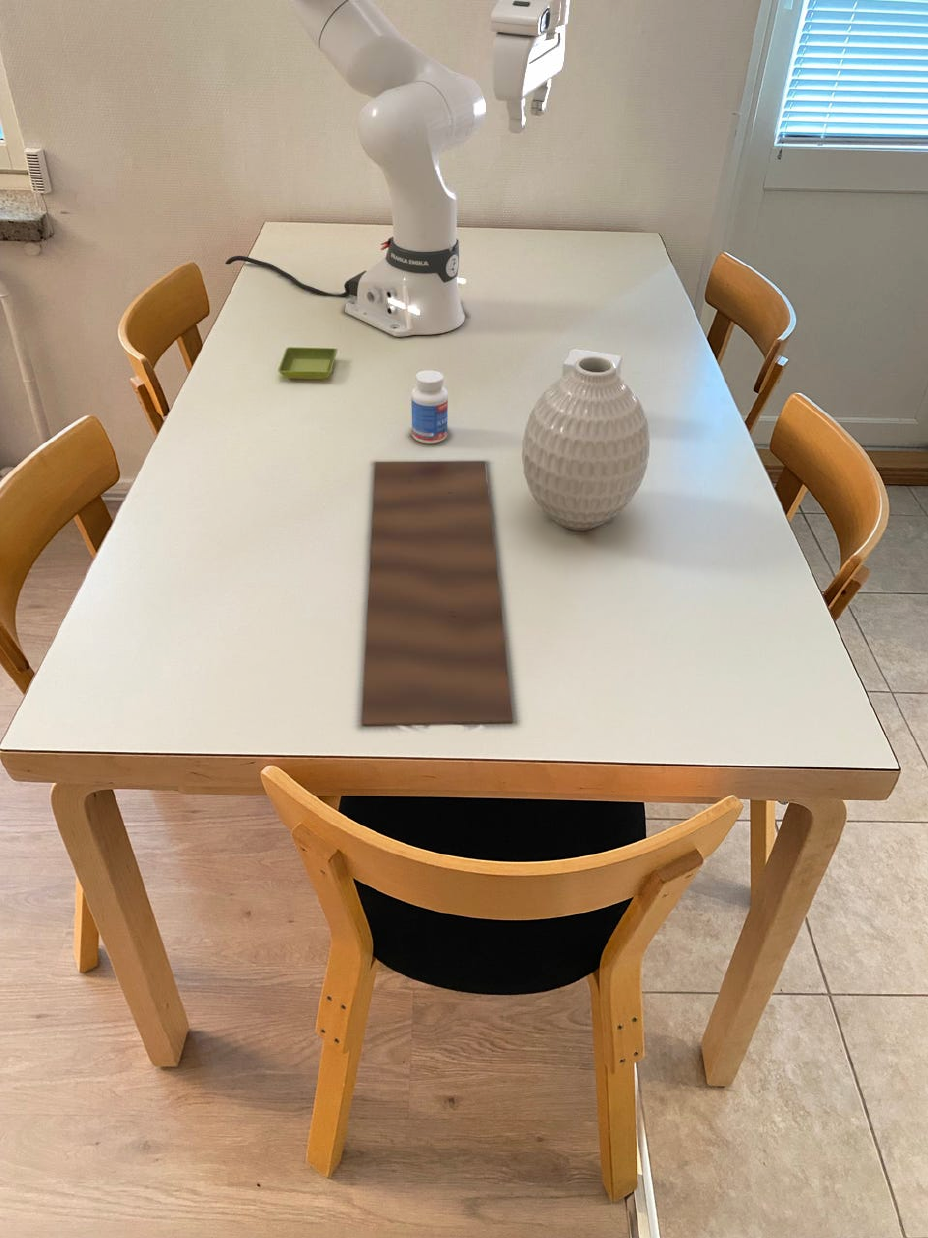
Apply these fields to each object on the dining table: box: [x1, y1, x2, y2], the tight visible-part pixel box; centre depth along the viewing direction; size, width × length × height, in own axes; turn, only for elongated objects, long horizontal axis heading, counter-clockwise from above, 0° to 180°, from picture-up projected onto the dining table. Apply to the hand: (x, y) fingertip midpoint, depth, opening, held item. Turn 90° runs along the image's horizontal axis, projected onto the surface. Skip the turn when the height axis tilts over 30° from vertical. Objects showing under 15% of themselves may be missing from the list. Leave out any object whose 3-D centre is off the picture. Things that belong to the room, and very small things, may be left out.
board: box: [361, 460, 514, 726], centre depth 121 cm, size 51×16×1 cm, turn 2°
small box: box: [561, 348, 623, 378], centre depth 147 cm, size 8×6×10 cm
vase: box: [521, 356, 651, 531], centre depth 124 cm, size 16×16×22 cm
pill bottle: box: [410, 369, 449, 444], centre depth 143 cm, size 6×5×10 cm
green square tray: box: [277, 346, 338, 380], centre depth 161 cm, size 9×9×2 cm
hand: (527, 122), depth 134 cm, fingers open, 8 cm apart
